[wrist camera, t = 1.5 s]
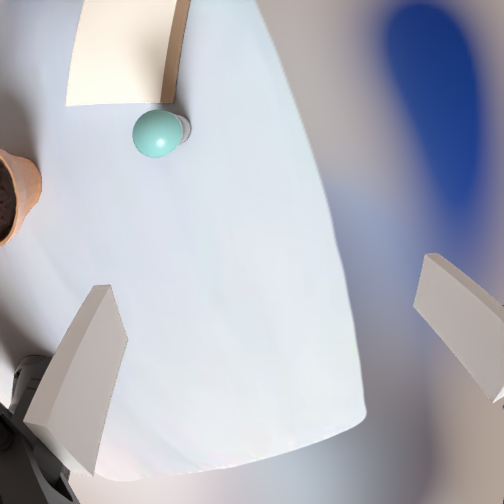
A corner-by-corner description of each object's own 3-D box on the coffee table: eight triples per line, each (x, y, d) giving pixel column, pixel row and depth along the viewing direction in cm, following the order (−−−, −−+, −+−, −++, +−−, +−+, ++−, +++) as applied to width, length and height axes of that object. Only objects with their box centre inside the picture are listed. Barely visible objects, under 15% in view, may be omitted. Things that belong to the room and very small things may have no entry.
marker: (159, 144, 26) (131, 156, 17) (162, 113, 25) (134, 109, 16) (190, 146, 27) (178, 158, 18) (194, 114, 25) (182, 110, 16)
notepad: (68, 106, 23) (65, 105, 22) (91, -16, 17) (89, -18, 17) (173, 103, 25) (172, 103, 24) (196, -24, 19) (195, -26, 19)
